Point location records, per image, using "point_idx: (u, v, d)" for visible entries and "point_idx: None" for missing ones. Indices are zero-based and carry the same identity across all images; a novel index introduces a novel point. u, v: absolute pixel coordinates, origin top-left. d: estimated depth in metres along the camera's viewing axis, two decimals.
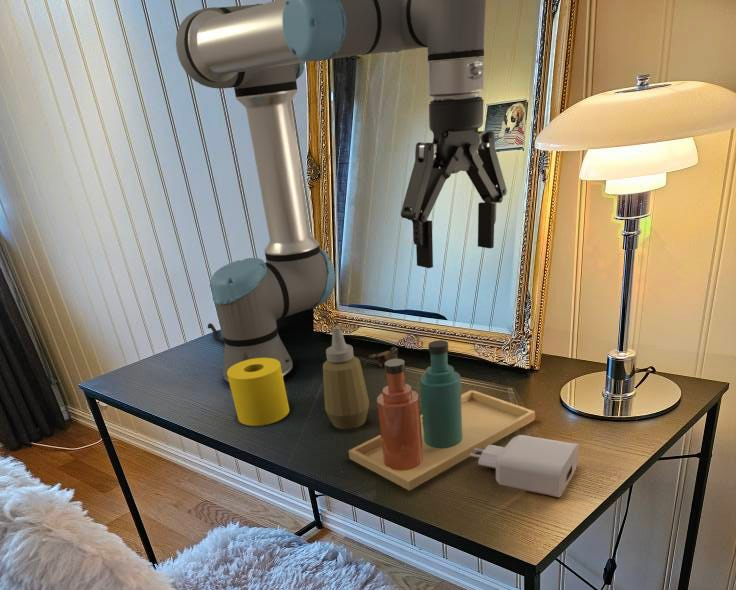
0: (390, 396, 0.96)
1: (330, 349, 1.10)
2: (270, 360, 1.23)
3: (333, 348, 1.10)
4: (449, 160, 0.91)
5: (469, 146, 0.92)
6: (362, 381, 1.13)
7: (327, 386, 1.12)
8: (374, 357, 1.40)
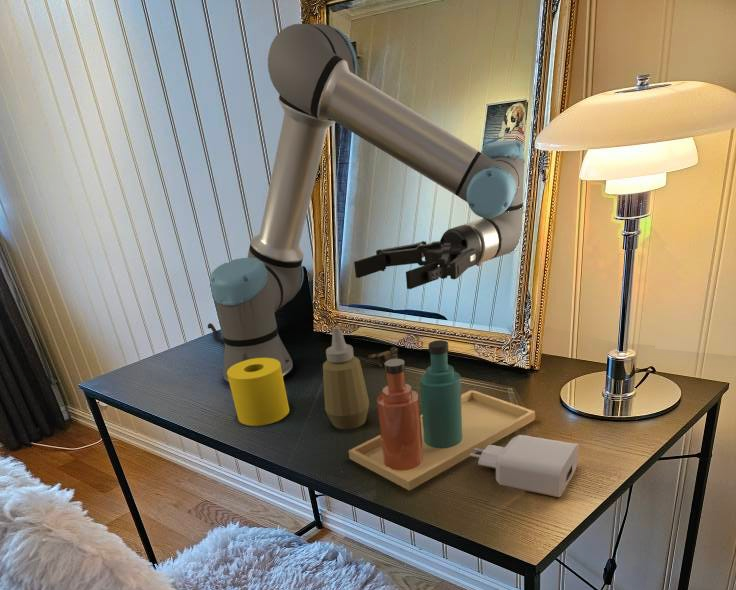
0: (390, 396, 0.96)
1: (330, 349, 1.10)
2: (270, 360, 1.23)
3: (333, 348, 1.10)
4: None
5: None
6: (362, 381, 1.13)
7: (327, 386, 1.12)
8: (374, 357, 1.40)
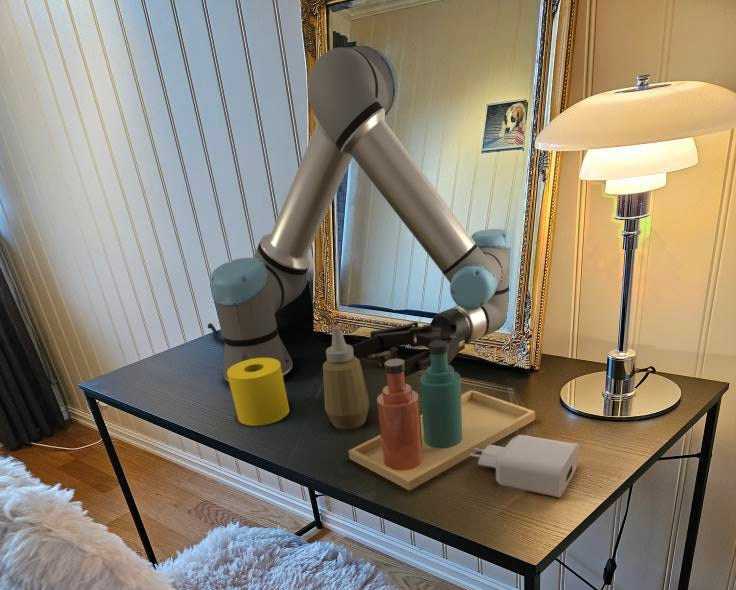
0: (390, 396, 0.96)
1: (330, 349, 1.10)
2: (270, 360, 1.23)
3: (333, 348, 1.10)
4: None
5: None
6: (362, 381, 1.13)
7: (327, 386, 1.12)
8: (374, 357, 1.40)
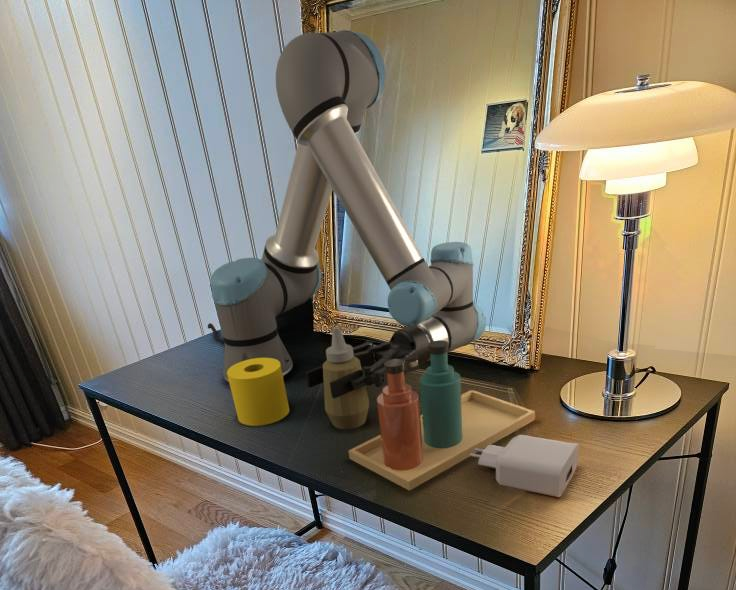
0: (390, 396, 0.96)
1: (330, 349, 1.10)
2: (270, 360, 1.23)
3: (333, 348, 1.10)
4: None
5: None
6: None
7: (327, 386, 1.12)
8: (374, 357, 1.40)
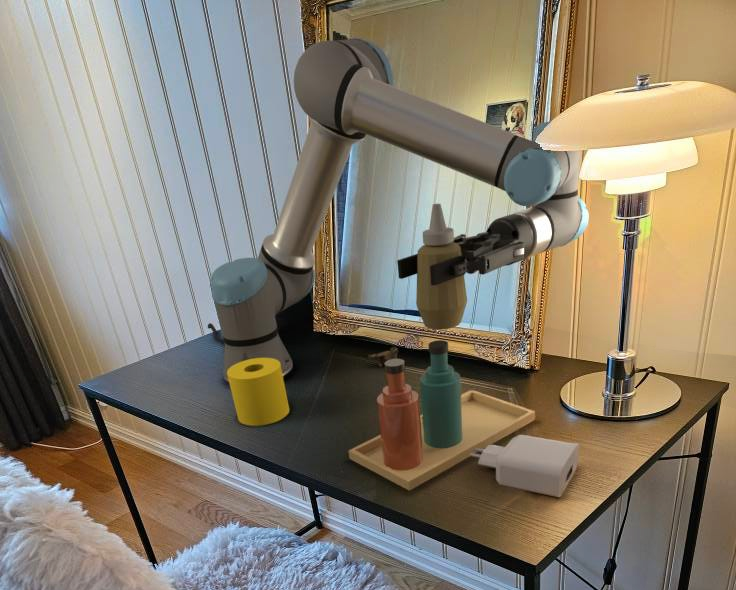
0: (390, 396, 0.96)
1: (428, 231, 0.97)
2: (270, 360, 1.23)
3: (432, 229, 0.96)
4: None
5: None
6: None
7: (423, 275, 0.98)
8: (374, 357, 1.40)
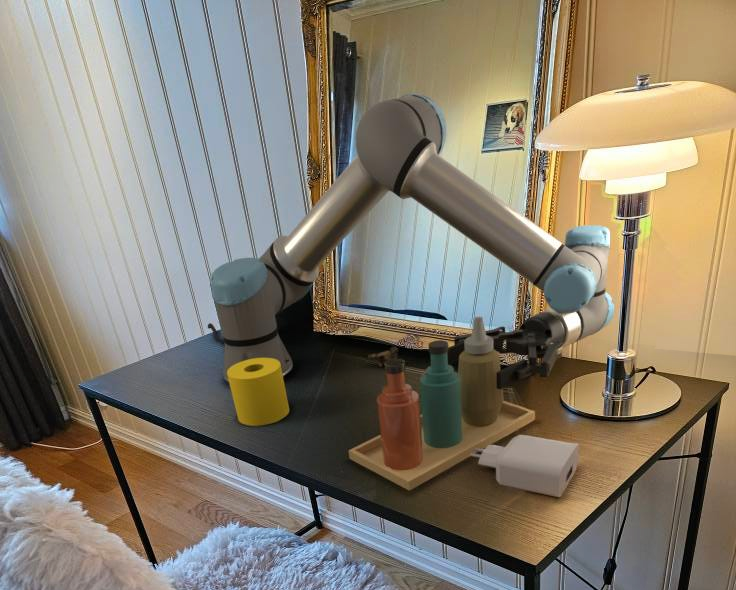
0: (390, 396, 0.96)
1: (469, 340, 1.05)
2: (270, 360, 1.23)
3: (473, 339, 1.04)
4: None
5: None
6: None
7: (464, 379, 1.07)
8: (374, 357, 1.40)
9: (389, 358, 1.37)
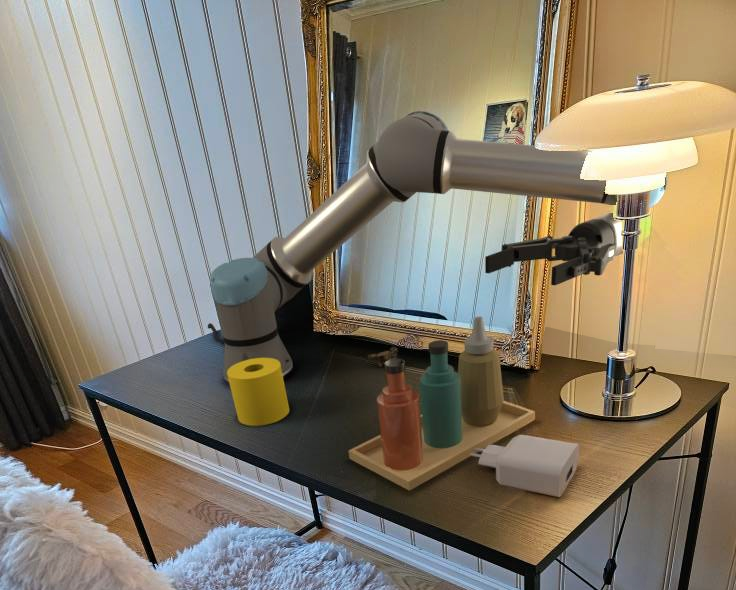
0: (390, 396, 0.96)
1: (469, 340, 1.05)
2: (270, 360, 1.23)
3: (473, 339, 1.04)
4: None
5: None
6: (500, 374, 1.07)
7: (464, 379, 1.07)
8: (374, 357, 1.40)
9: (389, 358, 1.37)
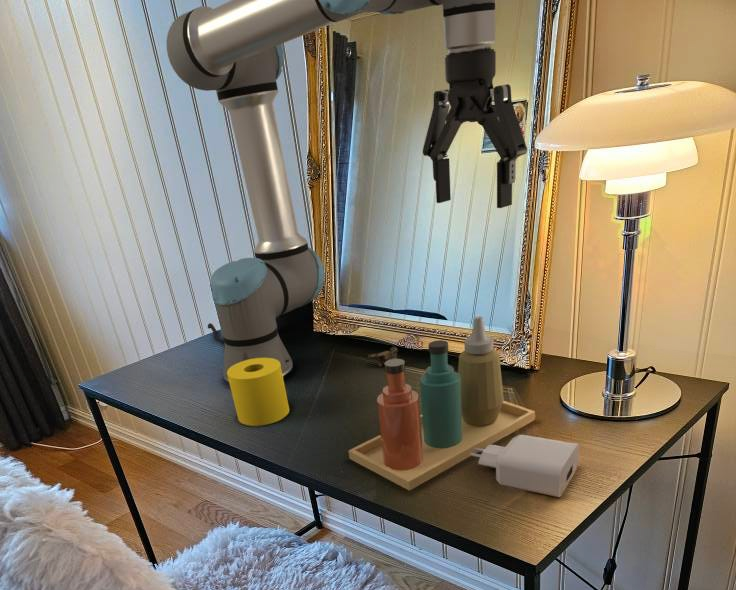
0: (390, 396, 0.96)
1: (469, 340, 1.05)
2: (270, 360, 1.23)
3: (473, 339, 1.04)
4: (491, 105, 0.99)
5: None
6: (500, 374, 1.07)
7: (464, 379, 1.07)
8: (374, 357, 1.40)
9: (389, 358, 1.37)
